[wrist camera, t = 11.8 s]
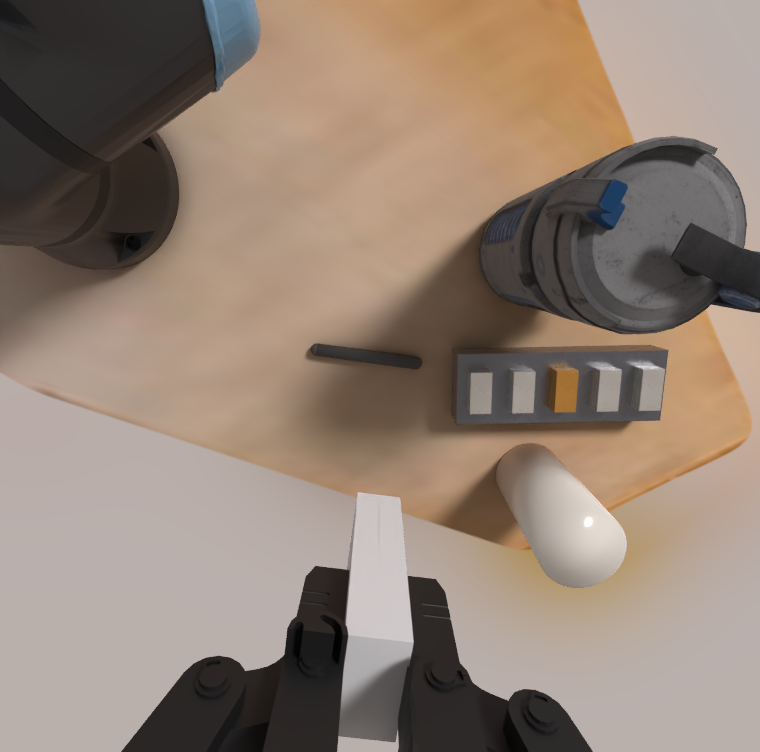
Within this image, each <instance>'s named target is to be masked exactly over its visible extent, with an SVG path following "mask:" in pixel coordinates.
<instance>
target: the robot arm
mask: <svg viewBox="0 0 760 752" xmlns="http://www.w3.org/2000/svg"><path fill="white" fill-rule="evenodd" d="M260 30H261V28H260V20H259V15H258V11H257V7H256V4H255V0H0V245H14V246H33V247H35V248H37V249H38V250H40V251H42V252H44V253H46V254H48V255H50V256H51V257H53V258H55V259H57V260H59V261H62V262H64V263H67V264H70V265H74V266H78V267H83V268H90V269H115V268H122V267H126V266H130V265H133V264H135V263H138V262H140V261H142V260H144V259H145V258H147V257H148V256H150V255H151V254H152V253H153V252H155V251H156V250H157V249H158V248H159V247H160V246H161V244H162V243H163V242H164V241H165V239H166V238H167V236H168V234H169V233H170V231H171V229H172V227H173V224H174V221H175V218H176V215H177V210H178V203H179V185H178V178H177V173H176V169H175V166H174V163H173V160H172V157H171V155H170V153H169V151H168V149H167V147H166V145H165V144H164V142H163V140H162V139H161V137H160V136H159V135H158V133H157V132H156V131H158V130H159V129H161V128H162V127H163V126H165V125H166V124H167V123H169V122H170V121H172V120H173V119H174V118H176V117H177V116H178V115H180V114H181V113H182V112H184V111H185V110H187V109H188V108H189V107H191V106H192V105H193V104H195V103H196V102H198V101H199V100H200V99H202V98H203V97H204V96H206V95H207V94H209V93H210V92H212V93H215V92H217V91H219V90H220V88H221V87H222V86H223V83H224V81H225V80H226V79H227V78H228V77H230V76H231V75H232V74H233V73H235V72H236V71H237V70H238V69H239V68H241V67H242V66H243V65H244V64H245V63H247V62H248V61H249V60H250V59H251V58H252V57H253V56H254V54H255V53H256V51H257V47H258V43H259V40H260ZM397 730H398V735H399V750H398V752H592V750H591V748H590V747H589V745H588V744H587V742H586V741H585V739H584V738H583V737H582V735H581V733H580V732H579V730H578V729H577V727H576V726H575V724H574V723H573V721H572V720H571V718H570V717H569V715H568V714H567V712H566V711H565V710H564V709H563V708H562V707H561V705H560V704H559V703H558V702H556V701H555V700H554V699H552V698H551V697H549V696H548V695H546V694H544V693H541V692H539V691H536V690H528V689H523V690H520V691H517V692H515V693H514V694H513V695H512V696H511V698H510V699H509V701H507V700H504V699H502V698H500V697H497V696H495V695H492V694H490V693H488V692H486V691H484V690H482V689H480V688H479V687H478V686H476V685H475V684H474V683H473V682H472V681H471V679H470V676H469V674H468V672H467V670H466V669H465V668H464V667H463V666H462V665H461V664H460V662H459V657H458V653H457V648H456V643H455V638H454V633H453V629H452V623H451V620H450V613H449V609H448V604H447V599H446V594H445V591H444V590H443V589H442V587H441V586H440V584H439V583H438V582H437V580H436V579H429V578H420V577H412V576H407V566H406V555H405V545H404V534H403V524H402V513H401V502H400V498H399V497H391V496H383V495H375V494H367V493H360V492H358V494H357V501H356V509H355V515H354V523H353V530H352V536H351V543H350V551H349V558H348V567H347V570H343V569H336V568H327V567H319V566H315V567H314V568H313V569H312V571H311V572H310V573H309V574H308V575H307V576H306V578H305V583H304V587H303V592H302V596H301V600H300V604H299V609H298V613H297V617H295V618H294V619H293V620H292V621H291V623H290V625H289V627H288V630H287V638H286V647H285V655H284V656H283V657H282V658H281V659H280V660H278V661H277V662H276V663H274V664H272V665H270V666H268V667H264V668H260V669H256V670H250V671H245V670H244V669H243V667H242V666H241V664H240V663H239V662H237V661H235V660H233V659H232V658H229V657H222V656H216V657H208V658H205V659H202V660H200V661H198V662H196V663H194V664H193V665H192V666H191V667H190V668H188V669H187V670H186V671H185V672H184V673H183V675H182V676H181V677H180V678H179V680H178V681H177V682H176V683H175V685H174V686H173V687H172V689H171V690H170V691H169V692H168V694H167V695H166V696H165V697H164V699H163V700H162V701H161V702H160V704H159V705H158V706H157V707H156V709H155V710H154V711H153V712H152V714H151V715H150V716H149V717H148V719H147V720H146V721H145V723H144V724H143V725H142V726H141V728H140V729H139V730H138V731H137V733H136V734H135V735H134V736H133V738H132V739H131V740H130V742H129V743H128V744H127V745H126V746H125V748H124V749H123V750H122V752H337V745H338V736H343V737H351V738H360V739H370V740H379V741H388V742H395V741H396V735H397Z"/></svg>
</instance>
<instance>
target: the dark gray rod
mask: <svg viewBox="0 0 760 752" xmlns="http://www.w3.org/2000/svg"><path fill="white" fill-rule="evenodd" d="M311 352H312V353H313V354H314V355H316V356H323V357H330V358H338V359H345V360H352V361H360V362H367V363H374V364H382V365H389V366H396V367H404V368H411V369H418V368H420V367H421V365H422V361H421V359H420V358H418V357H411V356H404V355H397V354H389V353H382V352H375V351H367V350H360V349H353V348H346V347H338V346H331V345H324V344H314V345H313V346H312V347H311Z"/></svg>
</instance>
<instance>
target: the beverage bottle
mask: <svg viewBox="0 0 760 752" xmlns="http://www.w3.org/2000/svg"><path fill="white" fill-rule="evenodd" d="M716 151H717V148H715V147H712V146H710V145H708V144H705V143H703V142H700V141H698V140H695V139H690V138H683V137H676V136H671V137H659V138H652V139H649V140H645V141H642V142H639V143H635V144H633V145H630V146H627V147H624V148H621V149H619V150H617V151H615V152H613V153H611V154H609V155H607V156H605V157H603V158H601V159H598V160H596V161H594V162H592V163H590V164H588V165H586V166H584V167H582V168H581V169H578V170H575V171H573V172H571V173H569V174H567V175H564V176H562V177H560V178H558V179H556V180H554V181H552V182H550V183H548V184H546V185H544V186H542V187H539V188H537V189H535V190H533V191H531V192H529V193H527V194H525V195H523V196H521V197H519V198H516V199H515V200H513V201H511V202H509V203H507V204H506V205H504V206H503V207H502V208H501V209H499V210H498V211H497V212H496V213H495V215H494V216H493V217H492V218H491V219H490V221H489V223H488V224H487V226H486V228H485V230H484V233H483V236H482V238H481V243H480V249H479V256H480V265H481V269H482V273H483V275H484V277H485V279H486V281H487V283H488V284H489V286H490V287H491V288H492V290H493V291H495V292H496V293H497V294H498V295H499V296H500V297H502V298H504V299H505V300H507V301H509V302H512V303H515V304H518V305H521V306H527V307H531V308H535V309H538V310H542V311H546V312H549V313H552V314H554V315H557V316H560V317H563V318H567V319H570V320H575V321H579V322H582V323H585V324H588V325H592V326H595V327H599V328H602V329H606V330H609V331H613V332H616V333H619V334H648V333H657V332H661V331H665V330H669V329H672V328H675V327H677V326H679V325H681V324H683V323H686V322H688V321H690V320H691V319H693V318H694V317H696V316H697V315H698V314H700V313H701V312H703V311H704V310H706V309H707V308H708V307H709V305H711V304H712V305H718V306H723V307H729V308H734V309H739V310H745V311H750V312H757V313H760V252H755V251H750V250H747V249H743V248H744V245H745V236H746V226H747V222H746V213H745V205H744V202H743V198H742V195H741V192H740V188H739V186H738V185H737V183H736V181H735V179H734V178H733V176H732V174H731V173H730V171H729V170H728V169H727V168H726V167H725V166H724V165H723V164H722V163H721V162H720V160H719V159H717V158H716V157H715V156H713V155H712V154H715V152H716Z"/></svg>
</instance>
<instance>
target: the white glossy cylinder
mask: <svg viewBox="0 0 760 752" xmlns="http://www.w3.org/2000/svg"><path fill="white" fill-rule="evenodd" d="M496 482H497V485H498V487H499V489H500V491H501V493H502V495H503V497H504V498H505V500H506V502H507V504H508V506H509V508H510V510H511V511H512V513H513V515H514V517H515V519H516V521H517V523H518V524H519V526H520V528H521V530H522V532H523V534H524V536H525V537H526V539H527V541H528V543H529V545H530V547H531V549H532V550H533V552H534V554H535V556H536V558H537V560H538V562H539V563H540V565H541V567H542V569H543V571H544V572H545V573H546V575H547V576H548V577H549V578H551V579H552V580H553V581H555V582H556V583H558V584H561V585H563V586H567V587H572V588H573V587H574V588H584V587H590V586H593V585H596V584H598V583H601V582H603V581H604V580H606V579H607V578H609V577H610V576H611V575H612V574H614V573H615V571H616V570H617V569H618V568H619V566H620V565H621V563H622V561H623V559H624V557H625V553H626V546H627V543H626V537H625V533H624V531H623V529H622V527H621V526H620V524H619V523H618V522H617V521H616V520H615V519H614V517H612V515H611V514H610V513H609V512H608V511H607V510H606V509H605V508H604V507H603V506H602V505H601V503H600V502H599V501H598V500H597V499H596V498H595V497H594V496H593V495H592V494H591V493H590V492H589V491H588V489H587V488H586V487H585V486H584V485H583V484H582V483H581V482H580V481H579V480H578V479H577V478H576V477H575V475H574V474H573V473H572V472H571V471H570V470H569V469H568V468H567V467H566V466H565V465H564V464H563V463H562V461H561V460H560V459H559V458H558V457H557V456H556V455H555V454H554V453H553V452H552V451H551V450H550V449H548V448H547V447H545V446H542V445H539V444H534V443H527V444H522V445H518V446H516V447H514V448H512V449H510V450H509V451H508V452H507V453H506V454H505V455H504V456H503V457H502V458H501V460H500V461H499V463H498V466H497V469H496Z"/></svg>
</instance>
